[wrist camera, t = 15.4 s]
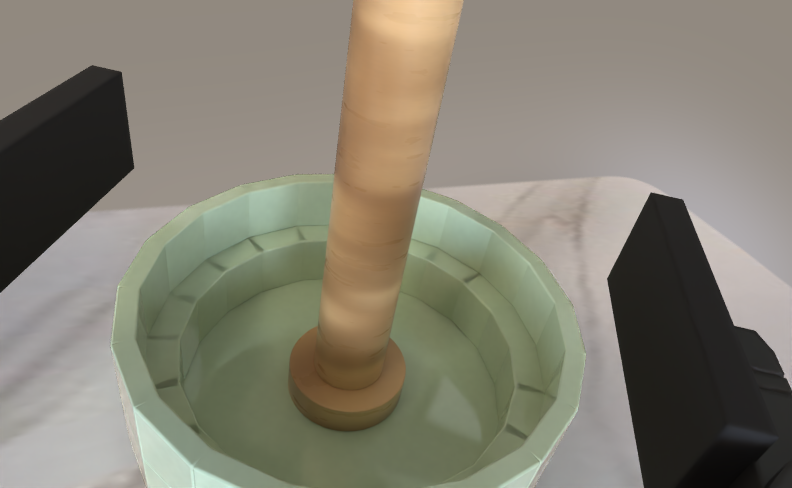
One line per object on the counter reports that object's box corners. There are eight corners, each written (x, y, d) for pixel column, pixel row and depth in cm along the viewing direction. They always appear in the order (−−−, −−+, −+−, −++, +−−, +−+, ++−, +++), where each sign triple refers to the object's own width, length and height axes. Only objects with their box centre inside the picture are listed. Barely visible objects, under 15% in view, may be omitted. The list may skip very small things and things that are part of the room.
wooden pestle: (423, 383, 24) (618, -287, 11) (349, 454, 21) (505, -350, 8) (342, 324, 25) (434, -310, 13) (263, 381, 22) (286, -367, 10)
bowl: (596, 397, 26) (649, 306, 22) (362, 747, 15) (396, 676, 12) (335, 229, 32) (346, 138, 29) (45, 393, 22) (9, 282, 18)
